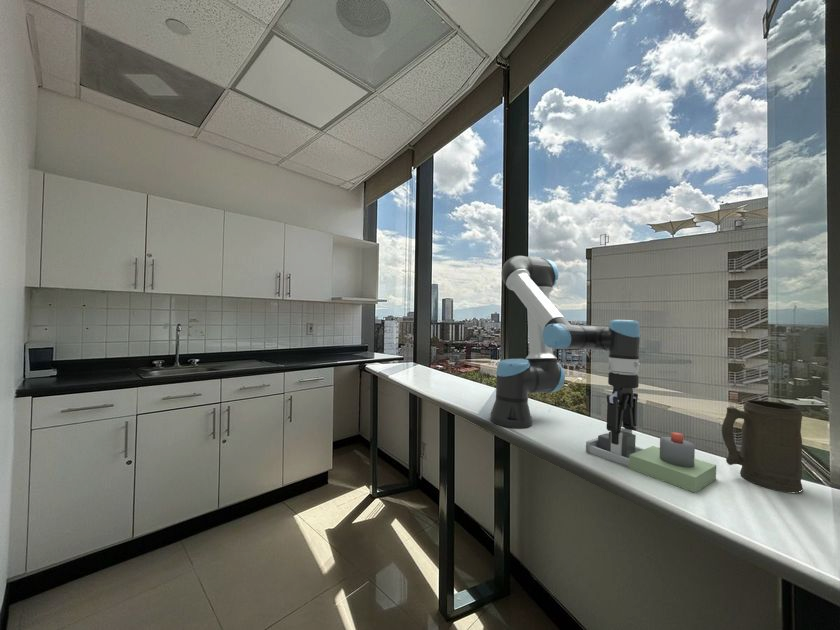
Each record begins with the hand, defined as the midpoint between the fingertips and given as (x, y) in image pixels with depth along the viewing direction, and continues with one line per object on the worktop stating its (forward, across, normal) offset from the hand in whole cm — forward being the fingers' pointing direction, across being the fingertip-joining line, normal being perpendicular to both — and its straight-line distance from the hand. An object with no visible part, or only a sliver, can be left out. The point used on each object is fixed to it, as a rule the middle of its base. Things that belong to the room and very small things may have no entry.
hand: (621, 453), depth 94 cm
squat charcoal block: (0, 0, +2) cm, 2 cm away
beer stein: (+1, +16, -25) cm, 30 cm away
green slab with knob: (+1, 0, -6) cm, 6 cm away
